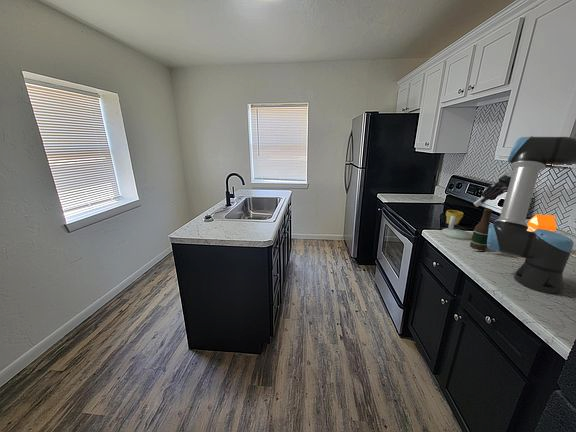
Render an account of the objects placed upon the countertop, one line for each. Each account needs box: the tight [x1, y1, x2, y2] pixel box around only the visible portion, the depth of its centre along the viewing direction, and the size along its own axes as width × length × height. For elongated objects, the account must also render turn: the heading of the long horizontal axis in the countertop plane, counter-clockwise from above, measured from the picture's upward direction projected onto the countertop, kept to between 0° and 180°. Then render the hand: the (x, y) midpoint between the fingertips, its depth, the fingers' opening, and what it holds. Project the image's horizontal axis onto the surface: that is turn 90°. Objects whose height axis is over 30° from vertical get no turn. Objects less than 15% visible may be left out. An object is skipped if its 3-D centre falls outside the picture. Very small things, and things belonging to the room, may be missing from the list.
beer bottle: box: [469, 208, 493, 253], centre depth 135 cm, size 8×8×24 cm
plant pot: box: [445, 209, 464, 226], centre depth 178 cm, size 10×10×10 cm
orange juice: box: [526, 213, 557, 232], centre depth 140 cm, size 8×9×20 cm
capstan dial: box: [441, 216, 473, 241], centre depth 155 cm, size 16×16×11 cm
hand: (475, 205), depth 155 cm, fingers closed
